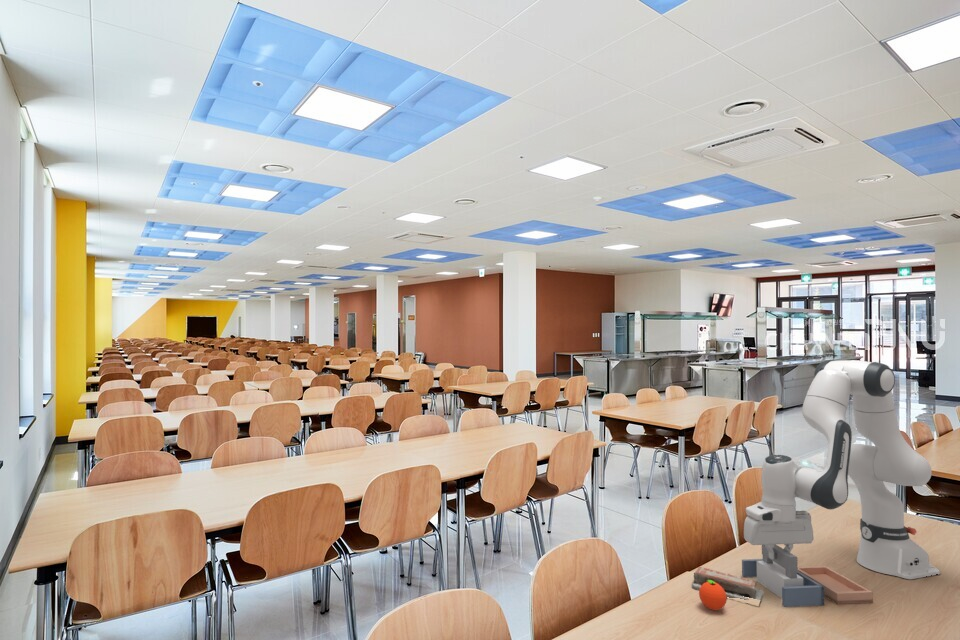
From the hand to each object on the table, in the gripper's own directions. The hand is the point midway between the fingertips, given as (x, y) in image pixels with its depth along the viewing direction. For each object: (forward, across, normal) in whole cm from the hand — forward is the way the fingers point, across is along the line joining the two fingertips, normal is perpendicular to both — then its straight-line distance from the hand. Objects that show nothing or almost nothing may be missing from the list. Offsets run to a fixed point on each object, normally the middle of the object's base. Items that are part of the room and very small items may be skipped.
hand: (778, 558), depth 152 cm
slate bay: (+9, 0, 0) cm, 9 cm away
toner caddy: (+9, 0, 0) cm, 9 cm away
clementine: (+9, +26, +8) cm, 29 cm away
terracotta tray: (+9, -16, +1) cm, 18 cm away
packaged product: (+10, +16, -1) cm, 19 cm away
